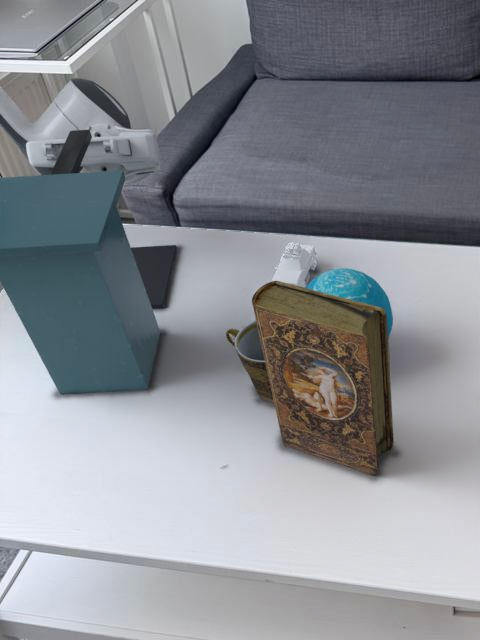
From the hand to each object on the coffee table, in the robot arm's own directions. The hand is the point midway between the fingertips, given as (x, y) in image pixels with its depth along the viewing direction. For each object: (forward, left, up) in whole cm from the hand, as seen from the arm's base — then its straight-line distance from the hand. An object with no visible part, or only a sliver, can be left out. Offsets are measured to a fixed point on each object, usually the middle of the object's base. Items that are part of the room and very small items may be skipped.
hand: (77, 148), depth 113 cm
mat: (-3, +3, -26) cm, 26 cm away
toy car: (+20, +22, -26) cm, 40 cm away
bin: (+14, -13, -26) cm, 32 cm away
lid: (+9, -8, 0) cm, 12 cm away
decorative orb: (+42, +14, -26) cm, 51 cm away
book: (+55, -1, -26) cm, 61 cm away
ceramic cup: (+38, +1, -26) cm, 46 cm away
